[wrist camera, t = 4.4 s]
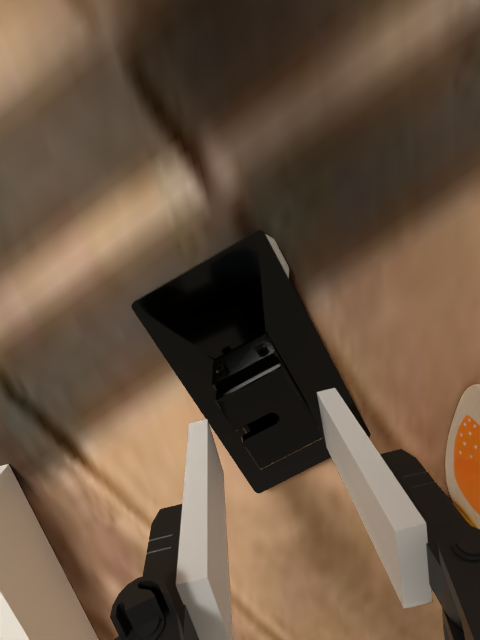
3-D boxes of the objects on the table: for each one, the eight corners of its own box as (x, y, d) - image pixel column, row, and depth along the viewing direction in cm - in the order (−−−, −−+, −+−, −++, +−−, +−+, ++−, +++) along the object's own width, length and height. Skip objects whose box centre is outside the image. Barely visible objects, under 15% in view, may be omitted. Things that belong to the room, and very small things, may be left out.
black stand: (131, 302, 18) (100, 330, 13) (266, 224, 17) (282, 226, 12) (256, 490, 21) (266, 565, 16) (374, 431, 20) (418, 491, 16)
